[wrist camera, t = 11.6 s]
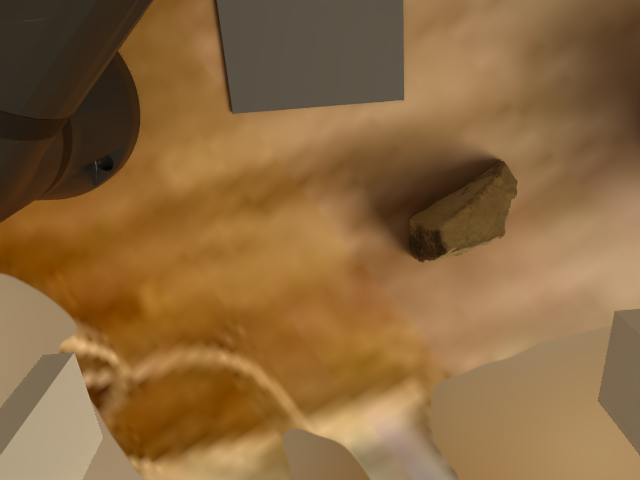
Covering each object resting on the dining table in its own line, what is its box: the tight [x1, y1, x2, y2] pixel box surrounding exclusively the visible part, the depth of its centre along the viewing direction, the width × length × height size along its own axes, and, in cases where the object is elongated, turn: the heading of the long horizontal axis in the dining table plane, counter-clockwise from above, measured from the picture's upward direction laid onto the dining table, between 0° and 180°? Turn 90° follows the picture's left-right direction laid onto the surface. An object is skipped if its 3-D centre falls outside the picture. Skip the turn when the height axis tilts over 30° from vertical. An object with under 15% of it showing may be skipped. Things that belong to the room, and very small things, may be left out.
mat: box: [217, 0, 404, 114], centre depth 38 cm, size 14×10×1 cm
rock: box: [409, 161, 517, 263], centre depth 42 cm, size 11×9×10 cm
